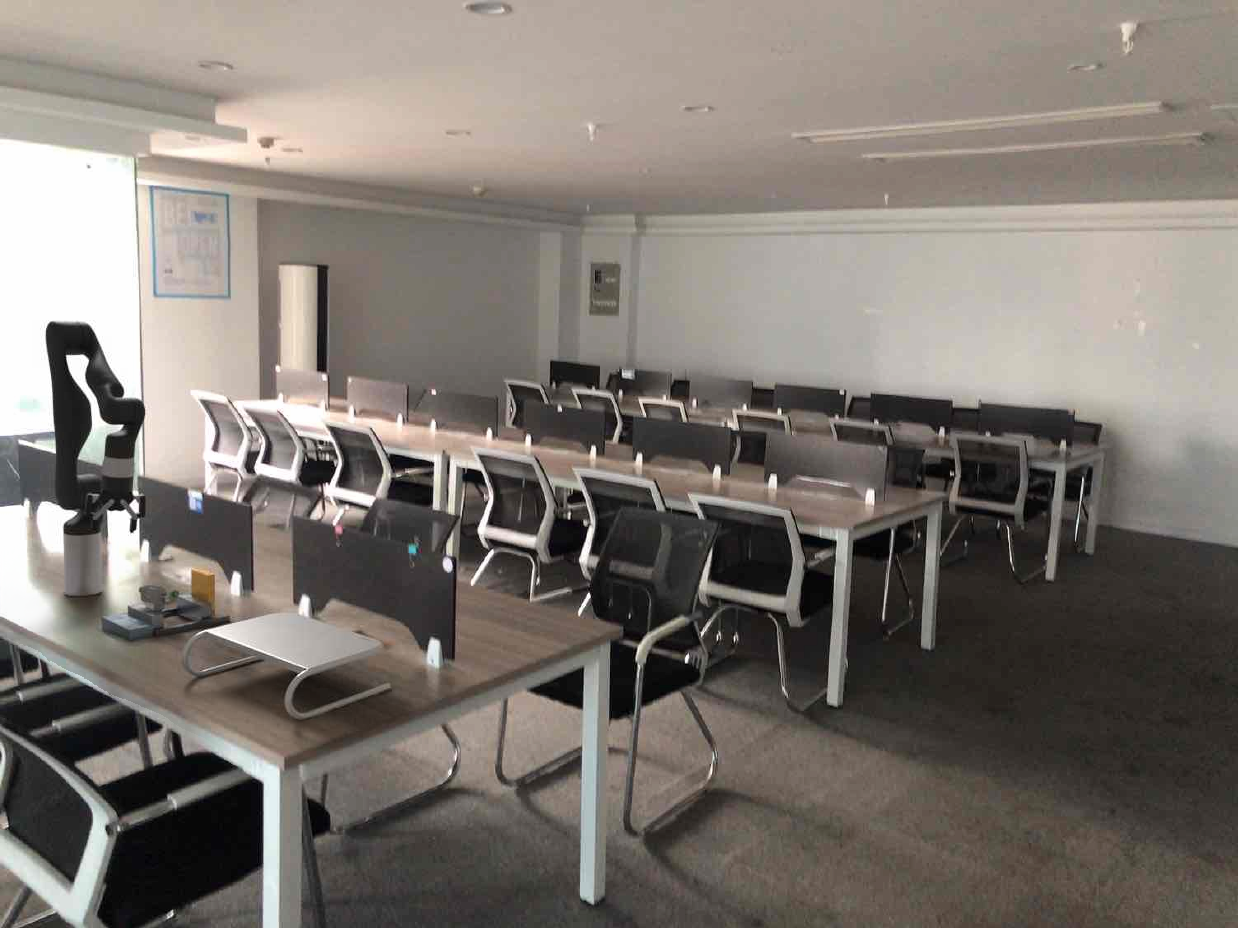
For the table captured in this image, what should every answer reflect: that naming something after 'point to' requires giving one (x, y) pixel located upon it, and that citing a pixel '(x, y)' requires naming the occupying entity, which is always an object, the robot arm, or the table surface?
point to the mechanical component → (157, 596)
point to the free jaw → (198, 597)
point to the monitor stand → (291, 650)
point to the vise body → (150, 623)
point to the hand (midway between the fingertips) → (113, 532)
